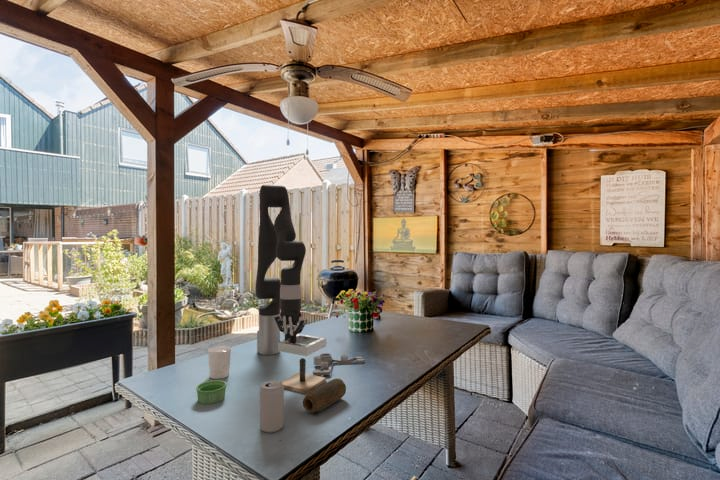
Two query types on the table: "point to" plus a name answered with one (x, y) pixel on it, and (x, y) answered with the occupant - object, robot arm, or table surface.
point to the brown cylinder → (324, 395)
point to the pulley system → (327, 359)
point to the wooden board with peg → (302, 380)
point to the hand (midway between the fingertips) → (290, 344)
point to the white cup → (219, 361)
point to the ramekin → (211, 391)
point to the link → (310, 345)
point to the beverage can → (271, 406)
